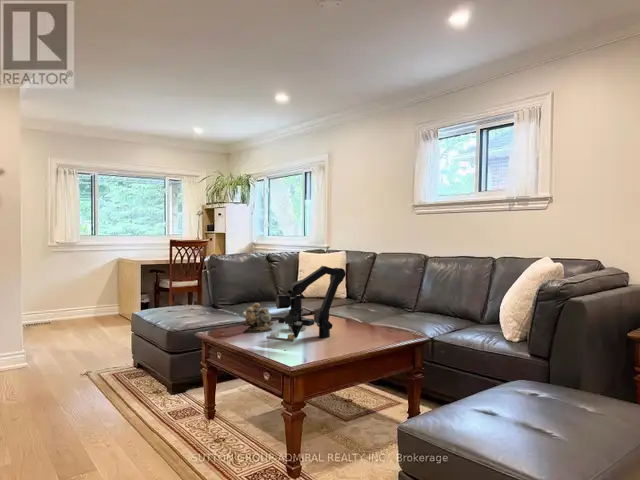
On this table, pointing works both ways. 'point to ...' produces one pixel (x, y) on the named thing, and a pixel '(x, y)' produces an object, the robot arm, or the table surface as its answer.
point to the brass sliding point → (291, 336)
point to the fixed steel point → (274, 334)
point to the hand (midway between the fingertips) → (296, 337)
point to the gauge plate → (280, 338)
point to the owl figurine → (257, 319)
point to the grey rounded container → (302, 326)
